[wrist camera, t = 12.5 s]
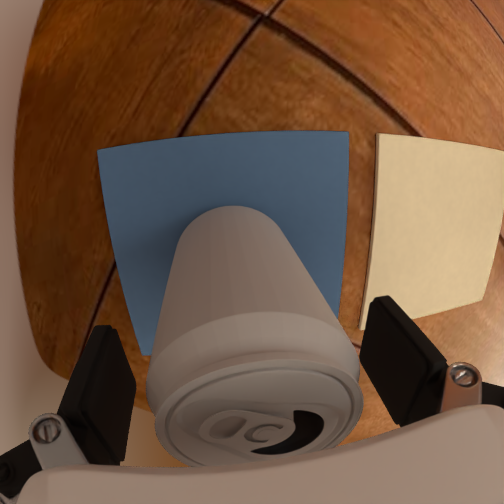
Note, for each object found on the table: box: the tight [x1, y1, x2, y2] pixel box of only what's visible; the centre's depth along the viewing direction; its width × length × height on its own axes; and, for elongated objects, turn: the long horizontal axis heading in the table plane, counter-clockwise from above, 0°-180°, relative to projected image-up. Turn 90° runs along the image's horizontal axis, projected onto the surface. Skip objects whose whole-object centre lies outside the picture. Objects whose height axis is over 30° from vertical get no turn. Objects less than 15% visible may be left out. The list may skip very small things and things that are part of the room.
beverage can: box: [146, 206, 363, 467], centre depth 13 cm, size 6×6×12 cm
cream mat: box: [358, 133, 504, 330], centre depth 20 cm, size 14×14×1 cm
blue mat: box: [97, 131, 349, 355], centre depth 18 cm, size 14×14×1 cm
